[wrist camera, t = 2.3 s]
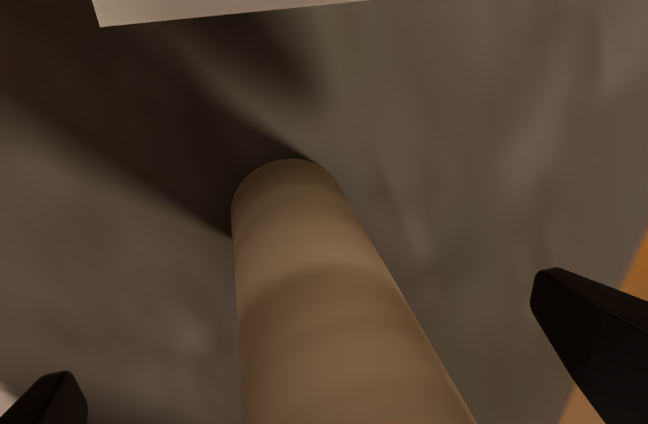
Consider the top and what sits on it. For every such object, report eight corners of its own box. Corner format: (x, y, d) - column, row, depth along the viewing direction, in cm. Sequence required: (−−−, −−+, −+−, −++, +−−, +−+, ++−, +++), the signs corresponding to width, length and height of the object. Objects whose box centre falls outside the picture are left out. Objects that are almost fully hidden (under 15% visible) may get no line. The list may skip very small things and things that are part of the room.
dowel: (345, 247, 13) (577, 736, 5) (241, 267, 13) (292, 849, 4) (339, 149, 12) (670, 620, 3) (220, 168, 11) (238, 779, 3)
